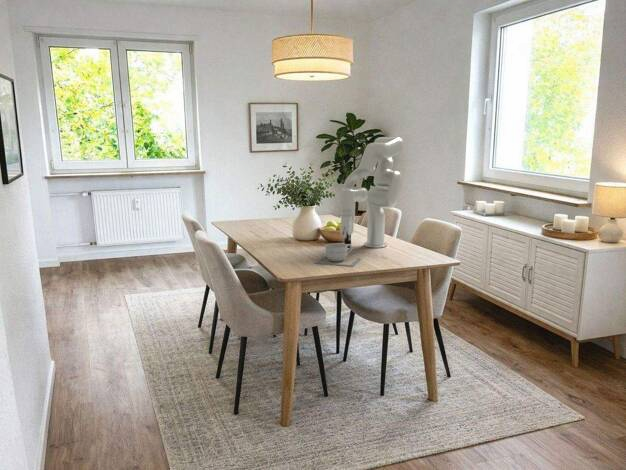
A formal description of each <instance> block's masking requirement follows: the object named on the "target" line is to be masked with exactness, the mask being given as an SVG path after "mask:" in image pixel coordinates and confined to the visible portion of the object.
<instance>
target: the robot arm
mask: <svg viewBox="0 0 626 470" xmlns="http://www.w3.org/2000/svg"><path fill="white" fill-rule="evenodd" d="M404 146H405V142H404V141H403V138H401V137H396V136H395V137H394V136H391V137H390V136H382V137H381V136H380V137H377V138H375V139H374V142H370V143H368V144H367V145H366V147H365V149H364V151H363V154H362V156H361V160H360V161H359V165H358V166H357V168H356V169H354V170H353V171H352V172H350V174H349V175H348V176H347V177H346V178H345V180H344V183H343V185H342V188H341V190H340V192H339V193H340V198H339V199H340V200H339V201H340V218H341V219H340V233H339V234H340V236H343V240H344V241H343V244H351V245H352V234H353V233H354V227H355V225H354V224H355V222H354V220H355V219H354V217H355V216H356V202H358V203H362V202H365V201H366V206H367V223H366V224H367V228H366V229H367V230H366V233H367V235H366V241H365V242H364V243H363V246H364V247H366V248H373V249H374V248H376V249H380V248H386V247H387V246H388V244H387V242H385V228H386V214H385V213H386V212H385V210H384V208H395V207H396V206H397V204H398V203H397V202H398V201H399V196H400V192H401V190H402V185H403V175H402V173H400V171H397V170H393V168H394V159H393V157H396V156H397V155H399V154H401V152H402V151H403V149H404ZM374 172H375V173H374ZM373 174H374V178H373V184H374V186H375V187H377V188H371V189H369V190H368V189H367V188H365V187H362V186H355V185H356V184H357V182H358V181H360V180H362V179H364V178H367V177H369V176H372V175H373ZM382 188H383V189H382ZM347 249H350V246H348V247H347Z"/></svg>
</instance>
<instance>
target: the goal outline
mask: <svg viewBox="0 0 626 470" xmlns="http://www.w3.org/2000/svg"><path fill="white" fill-rule="evenodd" d="M325 258H327V257H326V254H325V255H323V256H321V257H319V258H318V259H317V260H315V261H314V262H313V264H318V265H327V266H328V265H329V266H341V267H352V268H353V267H355V266H356V265H358V263H359V262H360V261H361V260H362V258H360V257H357V259H355V260H354V261H353V262H352V263H351V264H345V263H344V264H343V263H335V262H334V263H331V262H322V261H323V260H324V259H325Z"/></svg>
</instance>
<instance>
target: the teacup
mask: <svg viewBox="0 0 626 470" xmlns="http://www.w3.org/2000/svg"><path fill="white" fill-rule="evenodd" d="M348 246H350V248H349V250H348V248H347V247H348ZM324 247H325V256H326V258H327V259H328V260H329V261H331V262H342V261H344V260H345V259H346V258H347V255H348V254H350V253H351V252H352V251H353V246H352V243H351V244H344V242H343V243H342V242H337V243H336V242H335V243H334V242H332V243H328V244H325V245H324Z"/></svg>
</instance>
